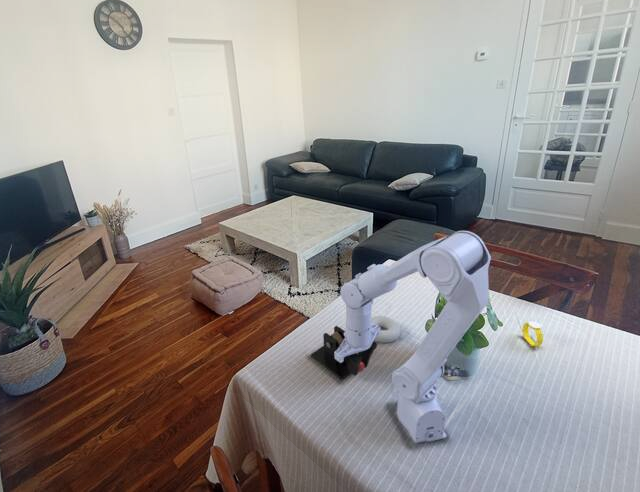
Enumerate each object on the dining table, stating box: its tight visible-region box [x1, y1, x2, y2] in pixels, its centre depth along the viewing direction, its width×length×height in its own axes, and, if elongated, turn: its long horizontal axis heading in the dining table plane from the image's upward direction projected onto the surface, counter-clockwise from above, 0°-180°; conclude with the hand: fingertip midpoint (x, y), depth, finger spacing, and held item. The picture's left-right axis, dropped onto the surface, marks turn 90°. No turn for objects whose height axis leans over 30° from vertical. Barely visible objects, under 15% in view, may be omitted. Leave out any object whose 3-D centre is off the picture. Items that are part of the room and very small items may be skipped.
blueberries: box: [442, 364, 465, 382], centre depth 83 cm, size 7×8×2 cm
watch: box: [521, 320, 544, 347], centre depth 89 cm, size 6×3×6 cm, turn 178°
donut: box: [371, 315, 402, 344], centre depth 98 cm, size 10×4×10 cm
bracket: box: [310, 325, 351, 381], centre depth 88 cm, size 11×9×9 cm
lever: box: [330, 331, 365, 373], centre depth 85 cm, size 11×3×3 cm, turn 38°
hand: (358, 368), depth 84 cm, fingers closed on lever, 3 cm apart
